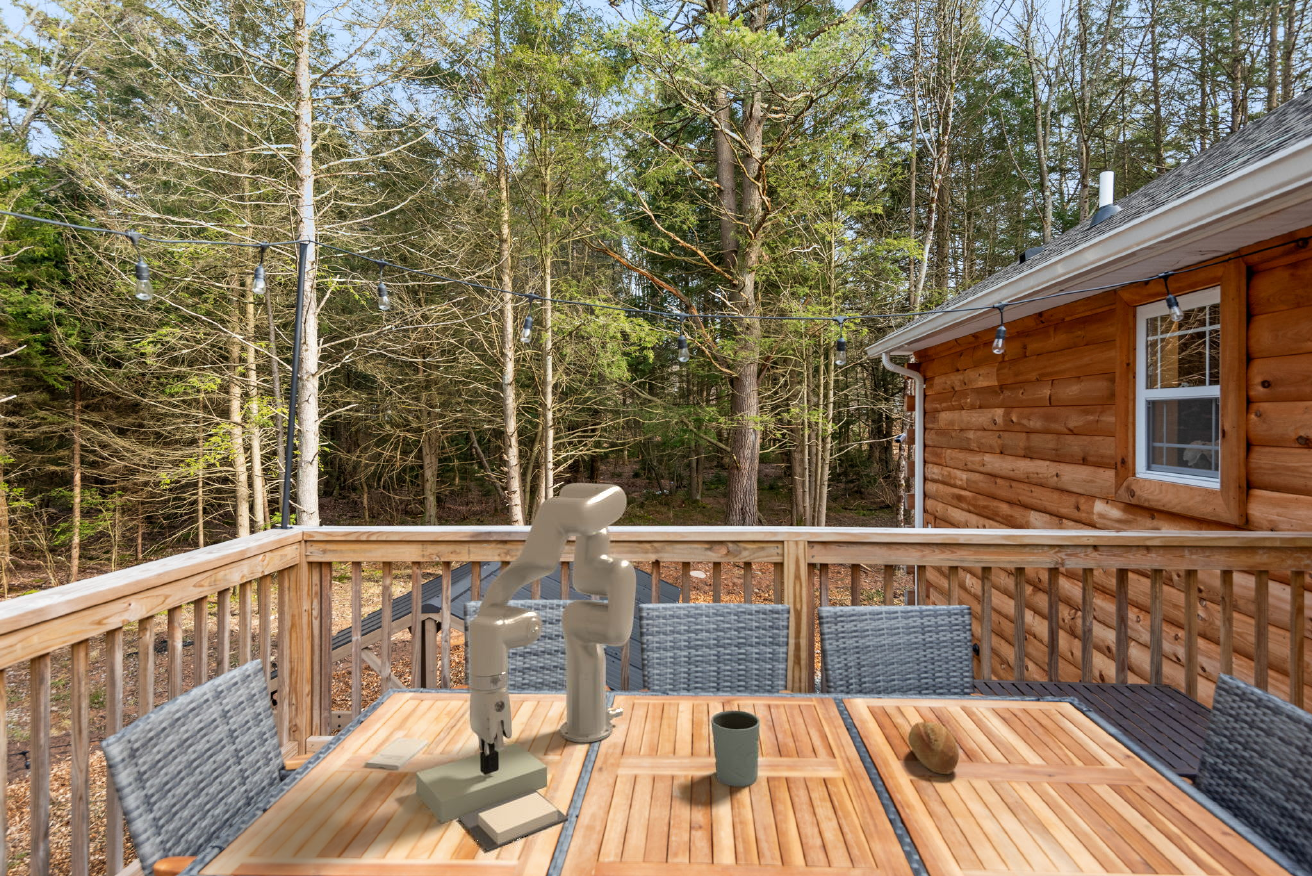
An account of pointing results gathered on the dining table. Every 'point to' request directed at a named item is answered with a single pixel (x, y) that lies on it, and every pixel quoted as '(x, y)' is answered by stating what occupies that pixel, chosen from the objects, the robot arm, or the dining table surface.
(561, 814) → the mat
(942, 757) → the bread roll
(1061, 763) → the dining table surface
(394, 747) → the external hard drive
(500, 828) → the cream flat block
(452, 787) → the sage green block
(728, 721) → the grey green cup
